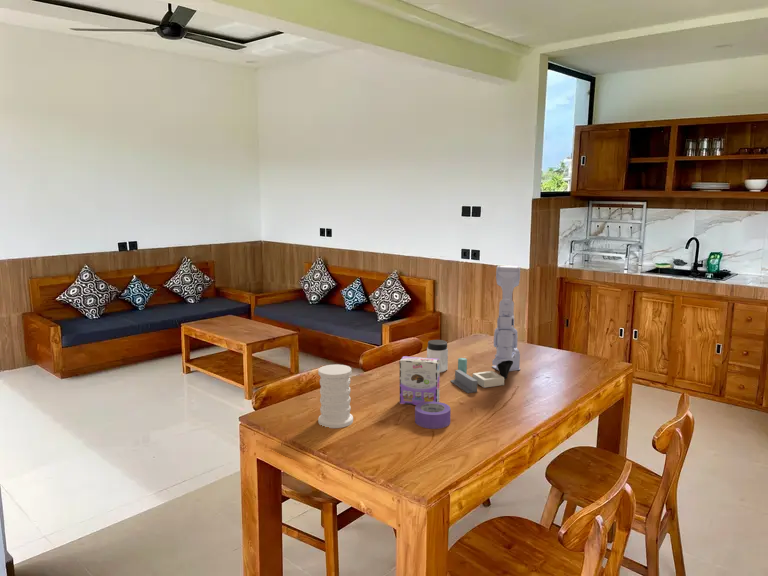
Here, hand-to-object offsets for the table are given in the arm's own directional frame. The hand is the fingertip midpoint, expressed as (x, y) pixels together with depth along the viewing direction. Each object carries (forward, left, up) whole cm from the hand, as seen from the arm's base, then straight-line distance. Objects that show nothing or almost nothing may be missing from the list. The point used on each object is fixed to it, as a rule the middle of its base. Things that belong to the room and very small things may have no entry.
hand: (503, 378), depth 236 cm
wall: (+17, 0, -1) cm, 17 cm away
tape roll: (+44, +26, -1) cm, 51 cm away
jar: (+18, -23, -1) cm, 29 cm away
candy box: (+41, +9, -1) cm, 42 cm away
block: (+7, 0, -1) cm, 7 cm away
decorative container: (+74, +14, -1) cm, 75 cm away
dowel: (+12, -12, -1) cm, 17 cm away
